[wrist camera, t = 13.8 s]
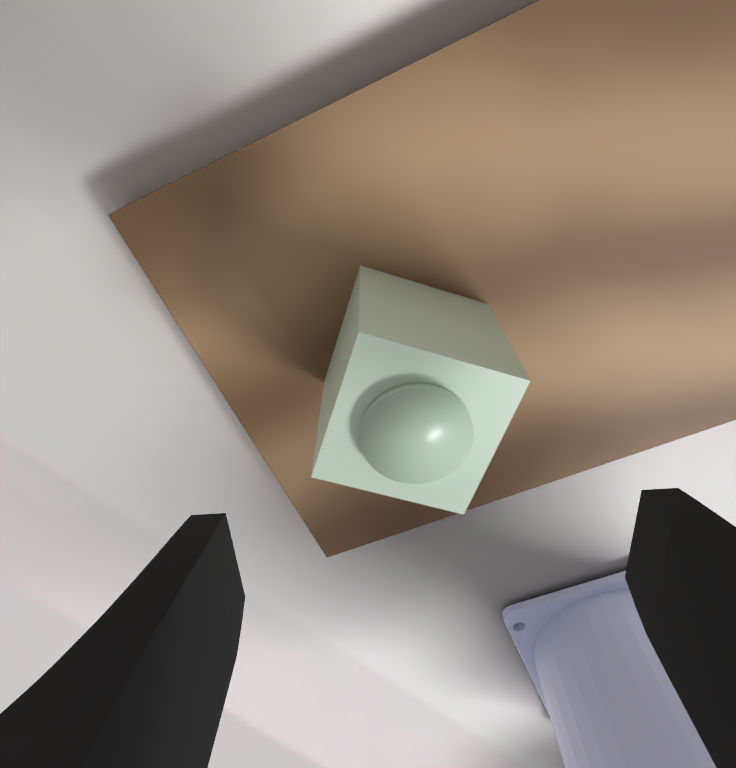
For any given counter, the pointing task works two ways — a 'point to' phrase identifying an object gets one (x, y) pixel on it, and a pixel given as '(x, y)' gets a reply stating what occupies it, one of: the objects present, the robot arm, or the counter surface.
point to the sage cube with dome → (415, 393)
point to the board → (482, 241)
